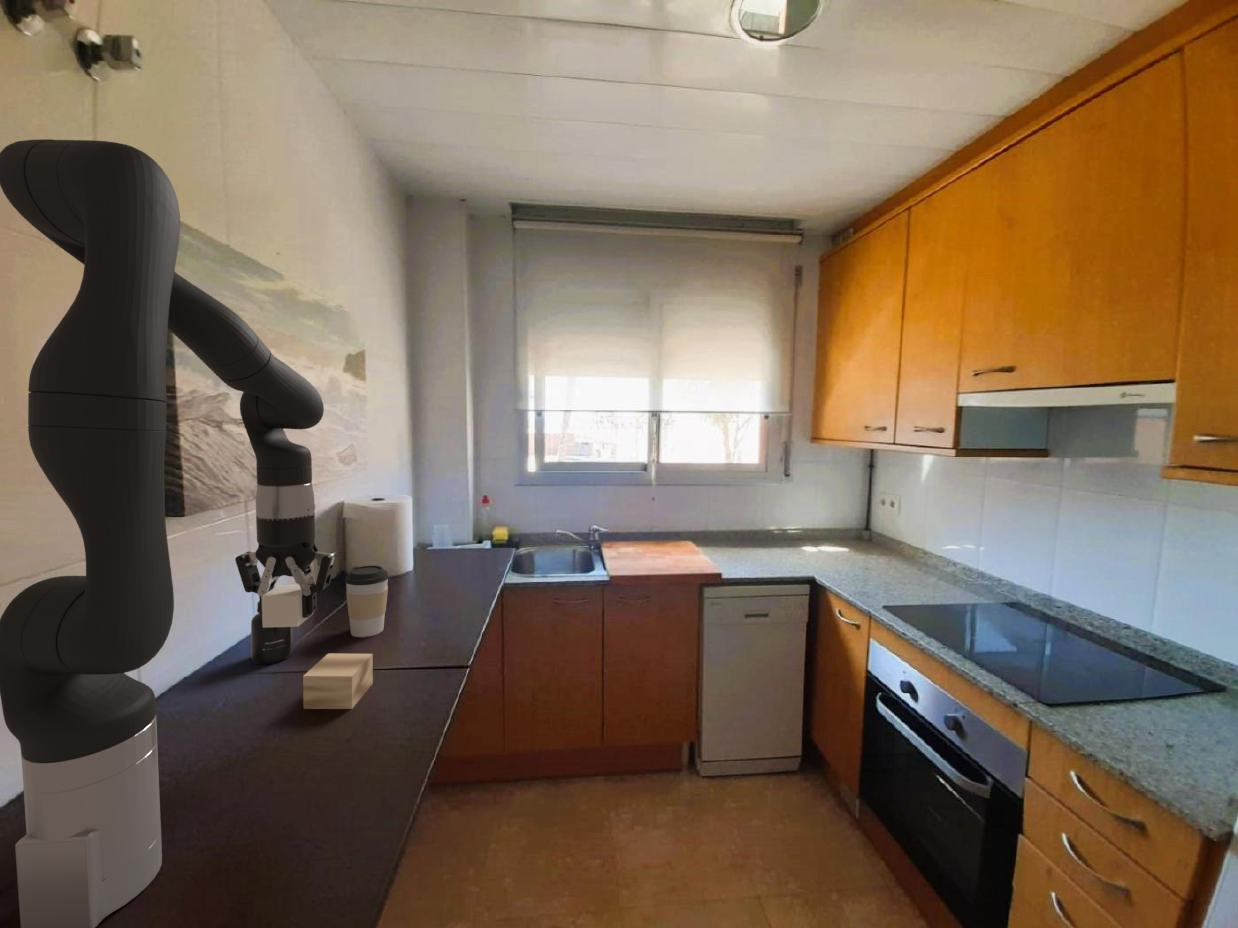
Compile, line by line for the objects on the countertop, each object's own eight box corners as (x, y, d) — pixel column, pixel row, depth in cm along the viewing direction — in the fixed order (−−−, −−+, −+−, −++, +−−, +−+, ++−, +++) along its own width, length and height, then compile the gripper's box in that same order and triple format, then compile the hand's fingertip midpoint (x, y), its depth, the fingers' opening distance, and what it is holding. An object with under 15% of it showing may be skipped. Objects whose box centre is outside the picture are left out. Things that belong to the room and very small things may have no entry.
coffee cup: (395, 623, 117) (395, 562, 115) (378, 639, 108) (378, 574, 106) (357, 622, 116) (357, 561, 115) (337, 638, 107) (336, 573, 106)
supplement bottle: (271, 667, 94) (270, 608, 93) (242, 663, 95) (241, 604, 94) (300, 651, 101) (300, 596, 100) (273, 647, 102) (272, 592, 101)
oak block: (352, 709, 82) (351, 676, 82) (303, 709, 82) (303, 675, 81) (372, 684, 90) (372, 653, 90) (328, 684, 90) (328, 653, 89)
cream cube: (297, 626, 74) (297, 595, 74) (262, 627, 74) (261, 596, 73) (313, 613, 79) (312, 584, 79) (280, 613, 79) (279, 584, 78)
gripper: (218, 516, 70) (223, 627, 72) (324, 517, 72) (326, 625, 74) (250, 506, 77) (254, 607, 79) (345, 507, 80) (347, 606, 81)
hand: (289, 615), depth 77 cm, fingers closed on cream cube, 5 cm apart
